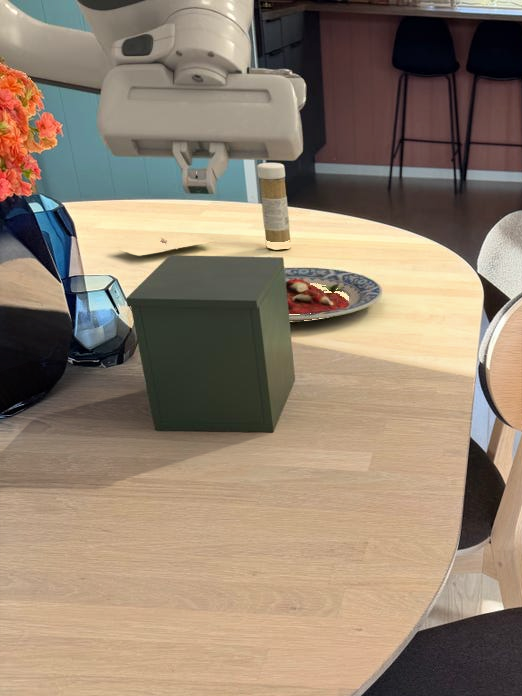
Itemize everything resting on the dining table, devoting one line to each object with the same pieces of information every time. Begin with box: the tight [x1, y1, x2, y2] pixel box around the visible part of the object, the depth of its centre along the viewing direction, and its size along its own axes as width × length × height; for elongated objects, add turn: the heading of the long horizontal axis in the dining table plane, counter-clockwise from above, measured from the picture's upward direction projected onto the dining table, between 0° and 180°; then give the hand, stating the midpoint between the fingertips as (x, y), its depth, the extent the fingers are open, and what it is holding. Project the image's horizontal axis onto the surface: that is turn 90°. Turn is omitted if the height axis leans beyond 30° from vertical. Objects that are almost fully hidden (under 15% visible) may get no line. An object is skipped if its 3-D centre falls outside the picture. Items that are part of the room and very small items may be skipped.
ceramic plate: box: [284, 267, 383, 321], centre depth 137 cm, size 26×26×3 cm
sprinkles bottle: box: [256, 162, 291, 242], centre depth 161 cm, size 5×5×13 cm
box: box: [130, 264, 296, 433], centre depth 103 cm, size 16×13×13 cm
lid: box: [125, 254, 285, 309], centre depth 98 cm, size 17×13×1 cm
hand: (198, 190), depth 94 cm, fingers closed
